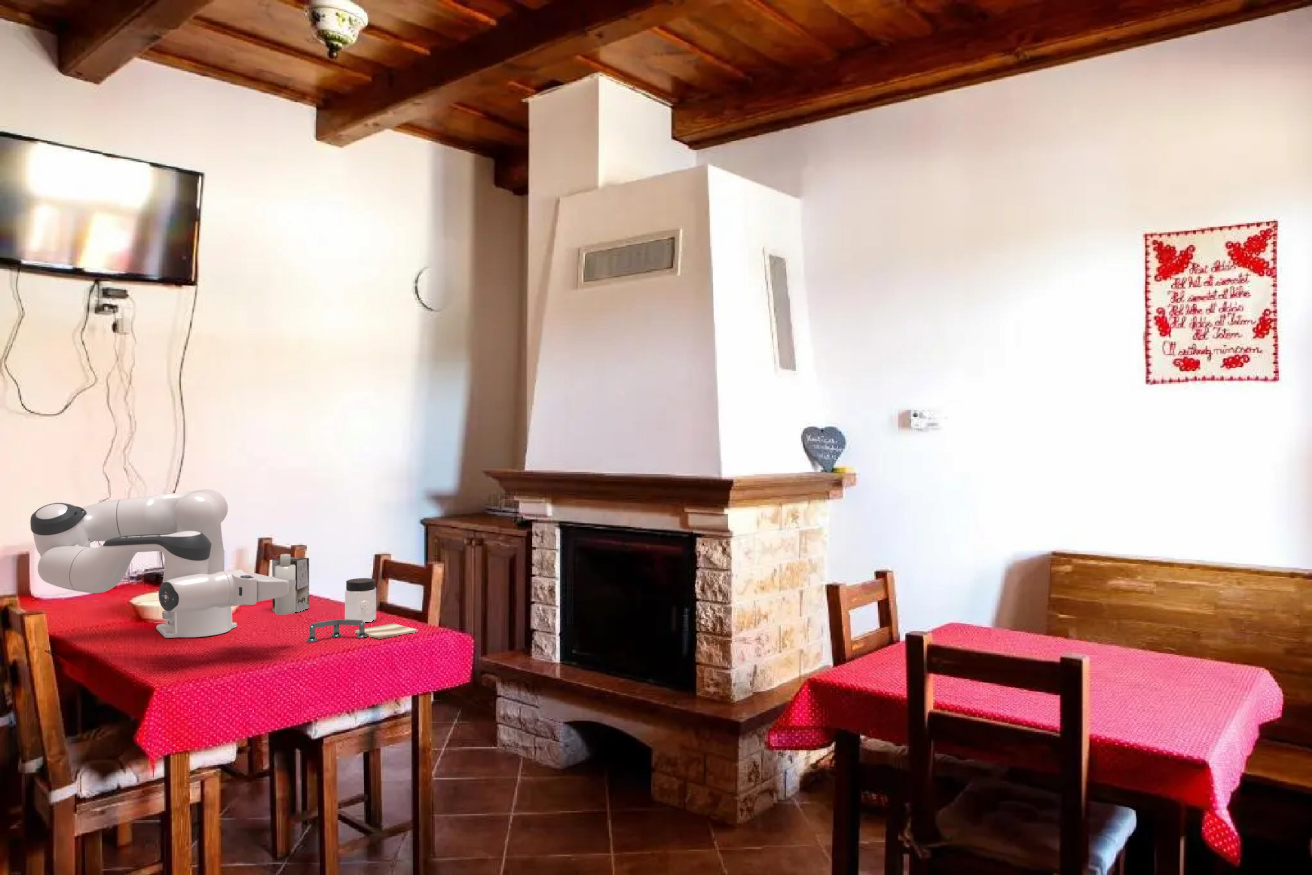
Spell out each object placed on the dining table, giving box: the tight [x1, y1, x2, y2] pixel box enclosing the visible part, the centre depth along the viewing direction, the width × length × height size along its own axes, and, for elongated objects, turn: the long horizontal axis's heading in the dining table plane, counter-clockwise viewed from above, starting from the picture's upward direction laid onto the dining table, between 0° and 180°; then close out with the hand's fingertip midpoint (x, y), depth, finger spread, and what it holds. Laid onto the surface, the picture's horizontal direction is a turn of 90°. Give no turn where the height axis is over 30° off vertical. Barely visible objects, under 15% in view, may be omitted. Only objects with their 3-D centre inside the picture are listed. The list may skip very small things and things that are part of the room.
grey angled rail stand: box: [306, 618, 368, 643], centre depth 237 cm, size 9×14×5 cm, turn 139°
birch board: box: [354, 623, 419, 639], centre depth 245 cm, size 12×12×1 cm
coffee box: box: [271, 556, 310, 613], centre depth 275 cm, size 9×6×16 cm
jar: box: [344, 577, 377, 623], centre depth 260 cm, size 9×8×12 cm
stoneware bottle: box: [274, 553, 295, 616], centre depth 228 cm, size 5×5×15 cm
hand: (288, 580), depth 229 cm, fingers closed on stoneware bottle, 5 cm apart
